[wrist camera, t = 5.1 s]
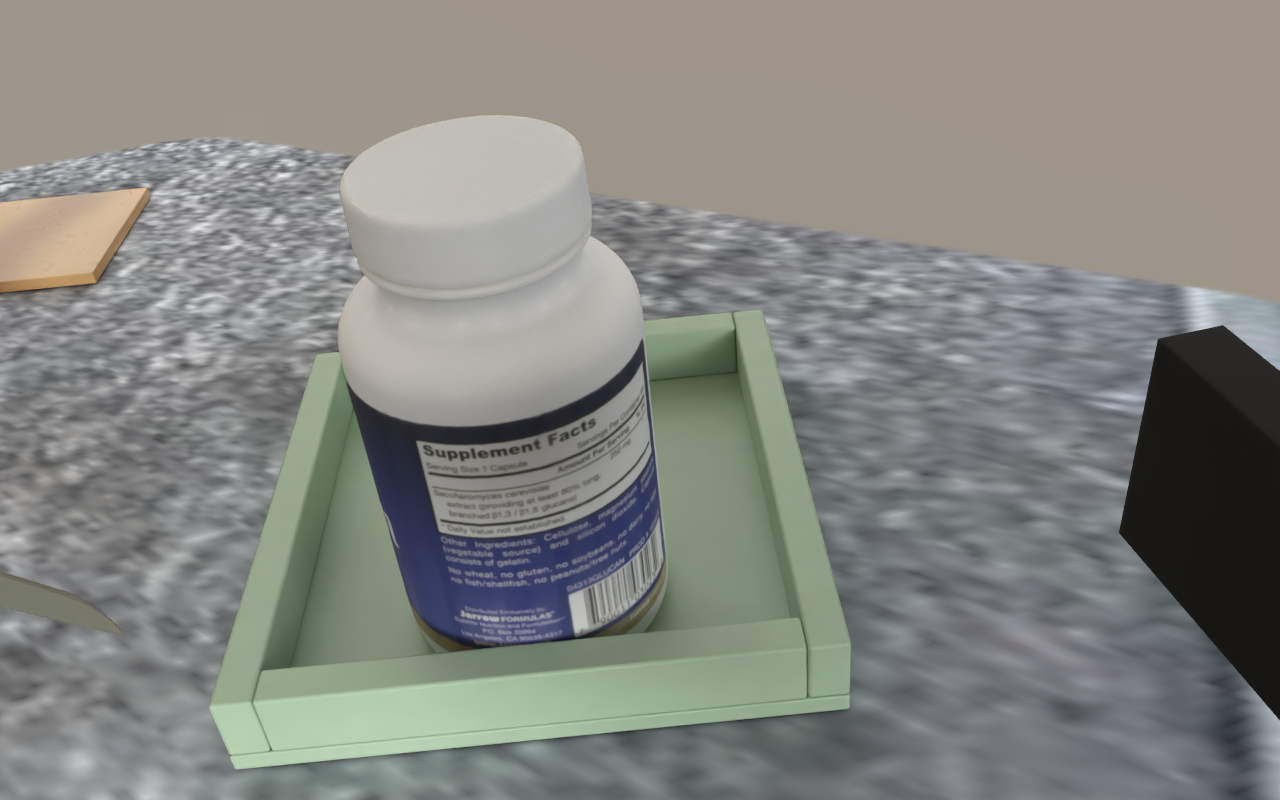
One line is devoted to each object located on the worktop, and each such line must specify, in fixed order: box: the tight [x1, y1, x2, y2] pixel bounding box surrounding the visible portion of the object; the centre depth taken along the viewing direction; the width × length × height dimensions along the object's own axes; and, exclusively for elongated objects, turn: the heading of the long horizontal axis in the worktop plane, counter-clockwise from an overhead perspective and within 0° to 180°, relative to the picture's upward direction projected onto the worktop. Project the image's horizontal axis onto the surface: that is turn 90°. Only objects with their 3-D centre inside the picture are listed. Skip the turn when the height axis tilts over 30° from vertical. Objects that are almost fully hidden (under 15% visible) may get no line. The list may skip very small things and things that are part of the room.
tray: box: [209, 310, 851, 769], centre depth 27 cm, size 12×12×2 cm
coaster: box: [0, 188, 151, 293], centre depth 41 cm, size 6×6×1 cm
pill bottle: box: [338, 115, 668, 653], centre depth 22 cm, size 5×5×10 cm
